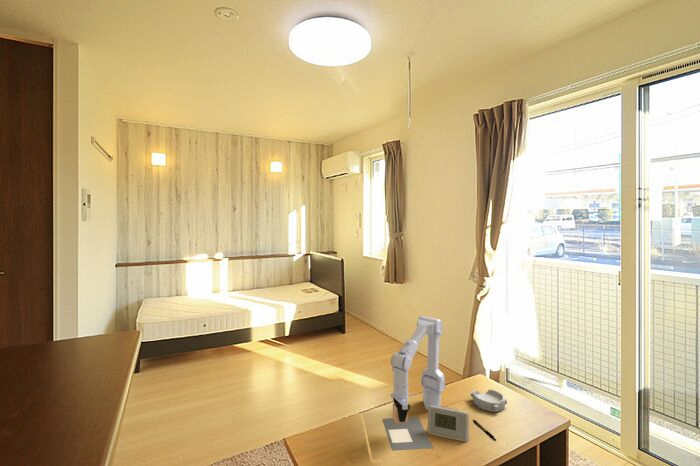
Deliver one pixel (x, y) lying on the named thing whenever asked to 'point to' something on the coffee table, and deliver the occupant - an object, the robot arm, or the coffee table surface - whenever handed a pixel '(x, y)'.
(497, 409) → the dish
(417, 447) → the mat
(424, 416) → the coffee table surface
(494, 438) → the pen
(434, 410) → the digital clock
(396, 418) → the block
